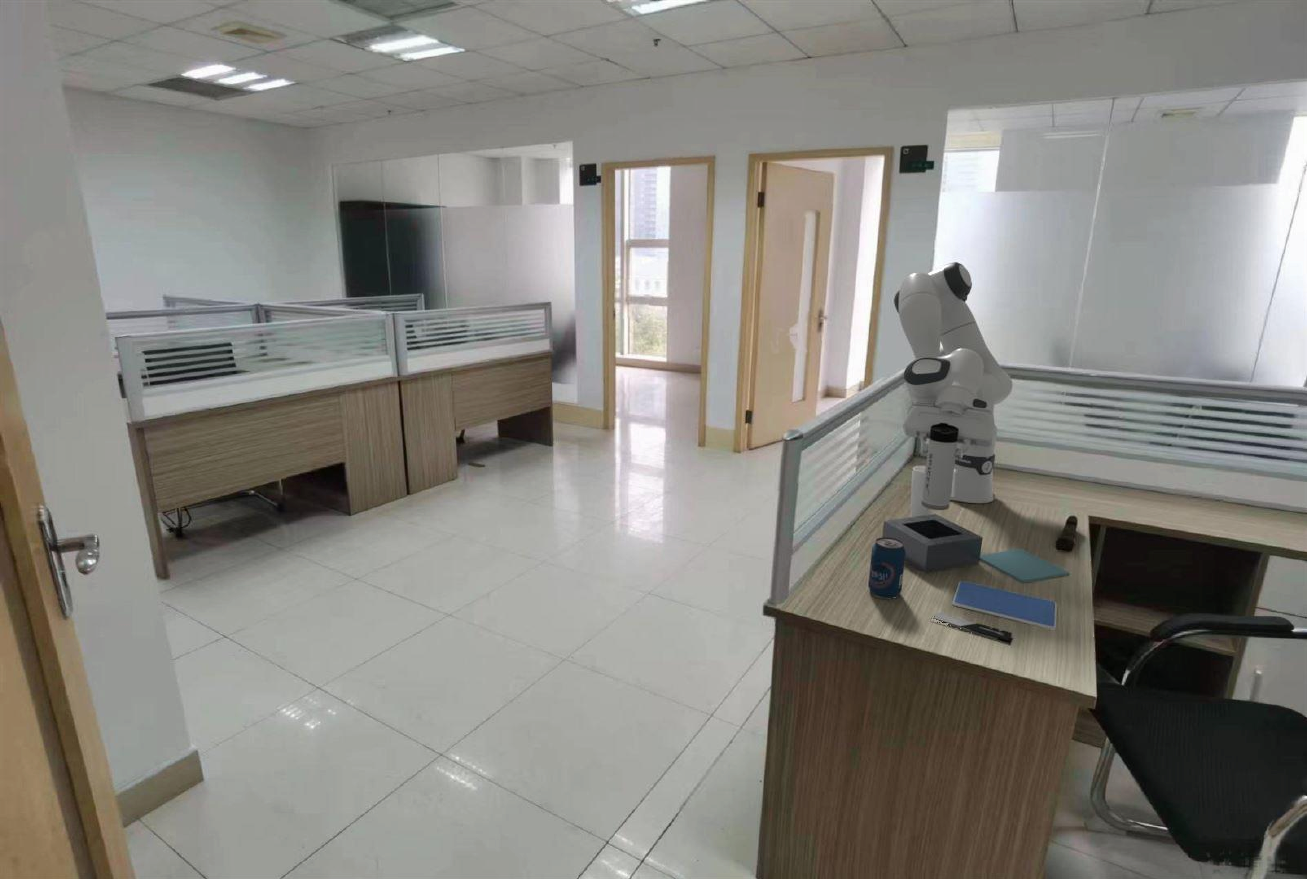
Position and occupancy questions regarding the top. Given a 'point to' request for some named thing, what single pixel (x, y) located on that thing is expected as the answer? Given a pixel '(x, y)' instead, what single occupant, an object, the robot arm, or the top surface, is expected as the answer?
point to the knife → (976, 628)
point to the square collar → (935, 542)
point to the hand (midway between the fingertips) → (941, 454)
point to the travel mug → (939, 466)
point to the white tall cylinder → (918, 493)
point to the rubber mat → (1022, 565)
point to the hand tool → (1067, 535)
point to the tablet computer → (1006, 604)
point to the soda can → (887, 567)
